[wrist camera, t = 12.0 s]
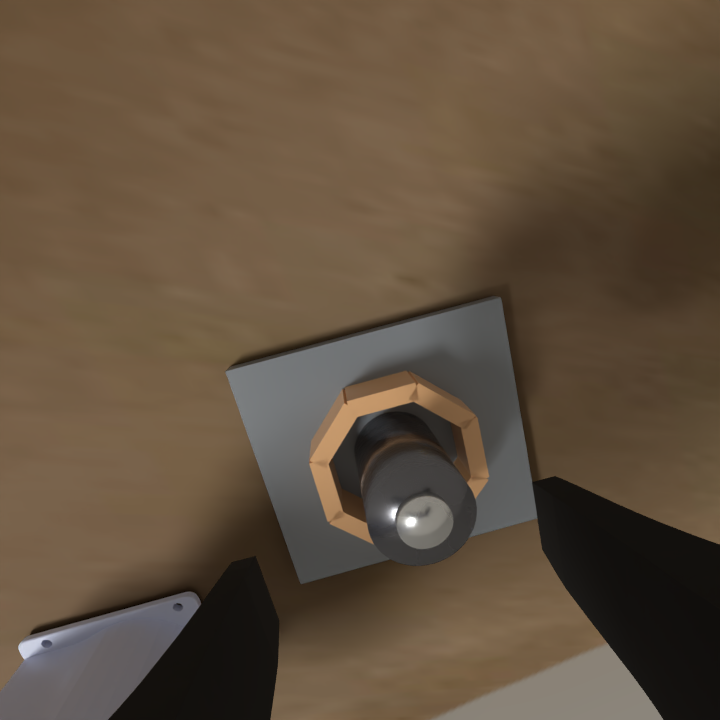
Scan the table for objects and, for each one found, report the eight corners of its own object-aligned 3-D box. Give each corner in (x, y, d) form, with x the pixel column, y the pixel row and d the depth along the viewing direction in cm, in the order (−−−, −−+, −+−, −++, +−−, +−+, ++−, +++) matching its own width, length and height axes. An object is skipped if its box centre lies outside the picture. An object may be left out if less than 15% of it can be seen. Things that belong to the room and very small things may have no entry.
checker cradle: (301, 573, 22) (298, 616, 20) (229, 367, 19) (213, 384, 17) (530, 509, 23) (558, 543, 20) (494, 296, 20) (521, 301, 17)
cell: (365, 496, 21) (382, 586, 15) (345, 423, 20) (356, 489, 14) (442, 475, 21) (489, 556, 15) (426, 402, 20) (469, 457, 14)
